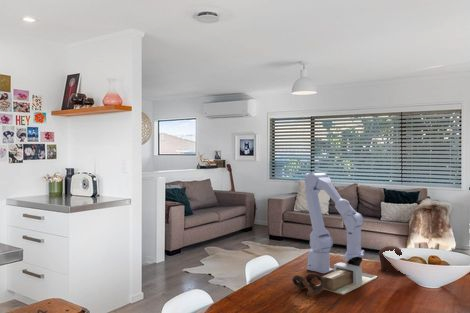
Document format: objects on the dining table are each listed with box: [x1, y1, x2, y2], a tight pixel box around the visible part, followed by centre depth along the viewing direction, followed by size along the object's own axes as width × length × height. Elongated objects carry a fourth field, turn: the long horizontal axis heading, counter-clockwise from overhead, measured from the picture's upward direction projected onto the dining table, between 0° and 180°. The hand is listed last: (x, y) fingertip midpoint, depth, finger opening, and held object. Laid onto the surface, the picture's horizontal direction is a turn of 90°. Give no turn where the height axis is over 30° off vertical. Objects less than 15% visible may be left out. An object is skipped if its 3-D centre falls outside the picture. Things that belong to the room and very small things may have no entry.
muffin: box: [378, 245, 402, 272], centre depth 179 cm, size 12×11×10 cm
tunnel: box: [316, 262, 379, 296], centre depth 161 cm, size 12×28×7 cm, turn 135°
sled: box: [321, 269, 353, 292], centre depth 157 cm, size 5×19×4 cm, turn 135°
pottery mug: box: [292, 272, 324, 297], centre depth 150 cm, size 12×10×8 cm
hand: (354, 274), depth 164 cm, fingers closed
